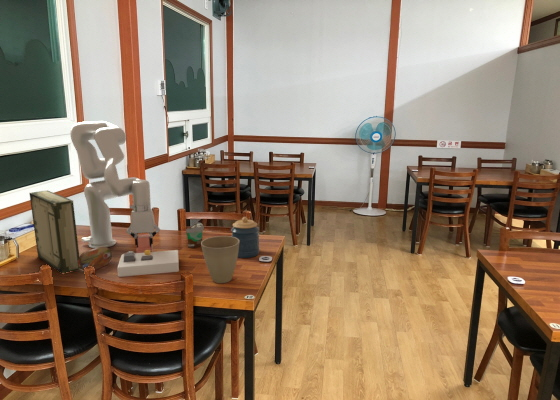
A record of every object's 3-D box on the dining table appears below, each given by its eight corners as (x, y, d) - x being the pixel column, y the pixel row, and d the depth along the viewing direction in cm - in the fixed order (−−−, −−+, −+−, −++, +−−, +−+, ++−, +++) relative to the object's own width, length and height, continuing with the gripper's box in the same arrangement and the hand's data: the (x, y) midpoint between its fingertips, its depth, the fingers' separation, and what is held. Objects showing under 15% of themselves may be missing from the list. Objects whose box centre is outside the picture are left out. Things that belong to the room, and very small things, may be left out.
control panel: (80, 269, 186) (73, 200, 179) (62, 274, 181) (53, 203, 174) (55, 252, 206) (47, 190, 200) (38, 256, 201) (29, 192, 195)
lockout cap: (136, 255, 198) (135, 238, 196) (137, 250, 204) (136, 234, 203) (152, 254, 200) (151, 238, 198) (152, 249, 206) (151, 233, 204)
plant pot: (212, 270, 184) (211, 234, 180) (245, 274, 180) (245, 237, 176) (196, 285, 170) (194, 245, 166) (231, 289, 166) (230, 249, 162)
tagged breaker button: (142, 269, 186) (141, 259, 185) (142, 265, 190) (142, 255, 188) (152, 268, 187) (151, 258, 186) (152, 264, 190) (151, 255, 189)
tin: (82, 274, 181) (80, 254, 179) (77, 272, 183) (75, 253, 181) (113, 263, 193) (111, 244, 192) (108, 261, 195) (106, 243, 193)
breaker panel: (118, 276, 178) (116, 263, 177) (122, 262, 193) (121, 250, 192) (178, 271, 183) (178, 258, 182) (178, 258, 199) (177, 246, 197)
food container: (199, 249, 210) (198, 229, 208) (186, 248, 212) (185, 228, 209) (208, 241, 222) (207, 222, 220) (196, 240, 223) (195, 221, 221)
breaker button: (124, 266, 184) (123, 256, 183) (125, 263, 188) (124, 253, 187) (134, 265, 185) (133, 255, 184) (135, 262, 188) (134, 252, 187)
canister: (225, 253, 204) (224, 217, 200) (246, 247, 213) (245, 211, 209) (244, 260, 195) (243, 222, 192) (265, 253, 205) (264, 216, 201)
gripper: (121, 210, 192) (123, 250, 196) (161, 208, 195) (163, 247, 200) (122, 206, 199) (125, 244, 203) (161, 204, 202) (163, 242, 207)
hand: (144, 245), depth 201 cm, fingers closed on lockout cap, 5 cm apart
